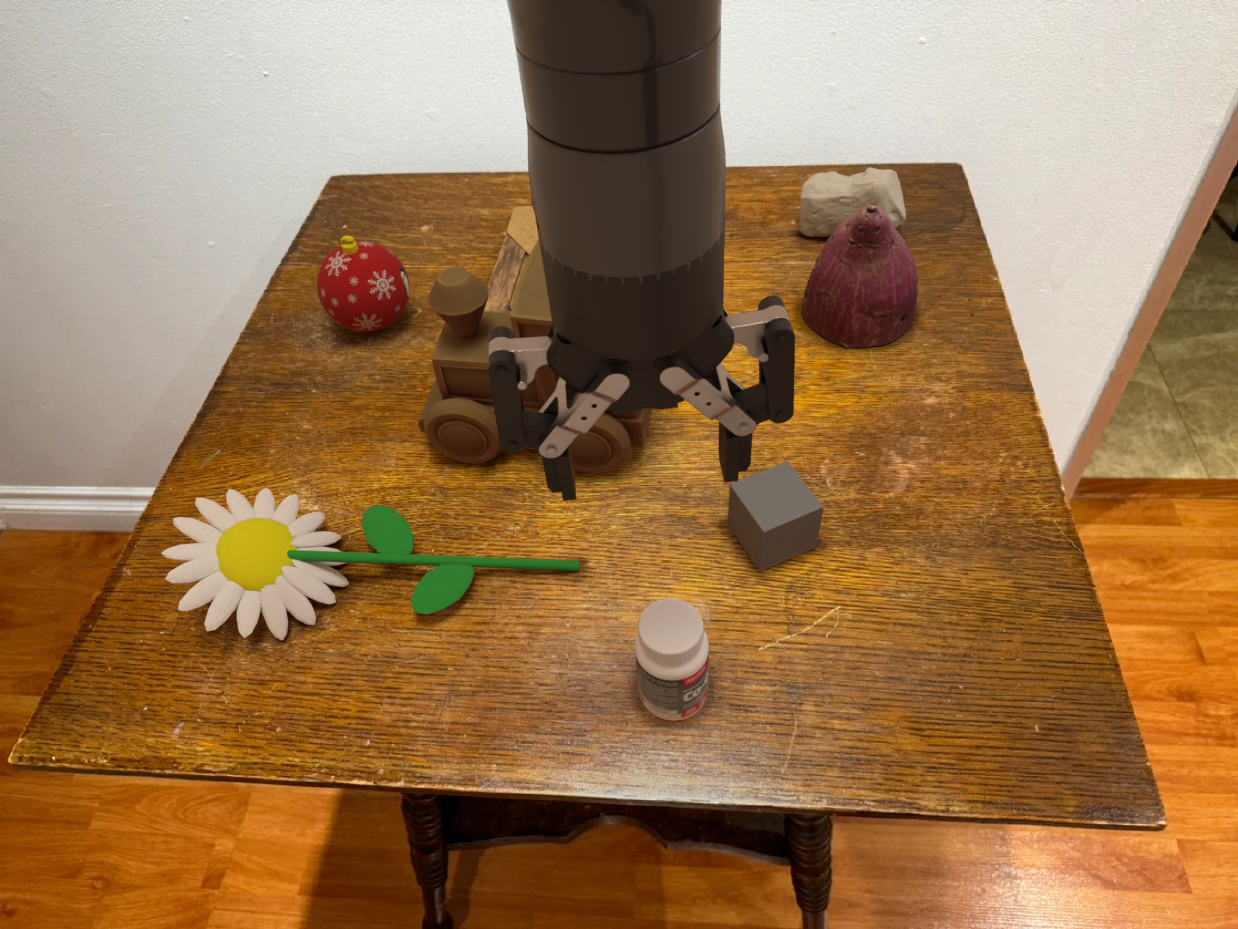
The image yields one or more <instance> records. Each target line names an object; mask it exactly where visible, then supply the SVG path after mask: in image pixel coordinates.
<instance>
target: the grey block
mask: <svg viewBox="0 0 1238 929" xmlns="http://www.w3.org/2000/svg"><path fill="white" fill-rule="evenodd" d="M824 508H825V507H824V505H823V504H822V503H821V501H820V500H819V499H818V497H817V496H816V495H815V494H814V492H813V491H812V490H811V488H809V486H808V485H807V484H806V483H805V480H803V478H802V477H801V476H800V475H799V473H798V472H797V471H796V469H794V467H793V466H792V465H791V464H790V462H789V461H788V460H786V461H784V462H781V463H779V464H776V465H774V466H771V467H768V468H767V469H764V470H761V471H759V472H756V473H754V474H750V475H749V476H746V477H744V478H742V479H738V481H736V482H730V483H729V488H728V510H727V526H728V527H729V529H730V531H731V532H732V533H733V535H734V536H735V537H736V539H737V541H738V542H739V544H740V546H742V548H743V549H744V551H745V552H746V554H747V555H748V556H749V558H750V560H751V561H752V563H753V564H754V565H755V567H756V568H757V569H758V571H759V572H762V571H764V570H767V569H769V568H771V567H774V566H776V565H778V564H781V563H783V562H786V561H788V560H790V559H793V558H795V557H797V556H800V555H802V554H804V553H806V552H809V551H811V550H813V549H816V548H817V547H818V542H819V536H820V530H821V524H822V520H823V512H824Z"/></svg>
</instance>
